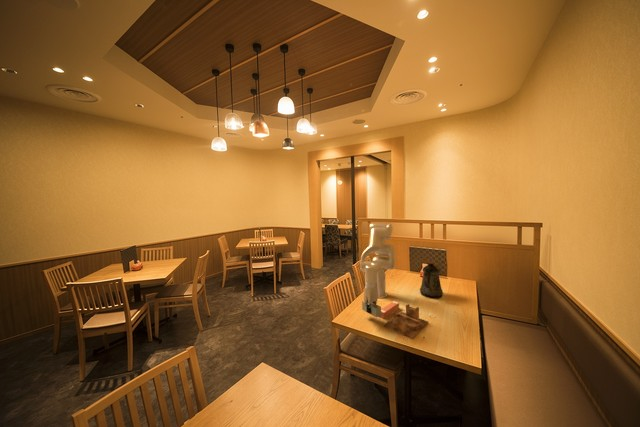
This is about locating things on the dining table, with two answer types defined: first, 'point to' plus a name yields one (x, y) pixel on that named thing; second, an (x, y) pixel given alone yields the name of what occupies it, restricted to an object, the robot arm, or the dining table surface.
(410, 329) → the jig
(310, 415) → the dining table surface
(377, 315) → the grey rectangular block
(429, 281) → the black backpack
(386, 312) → the orange banded bar
